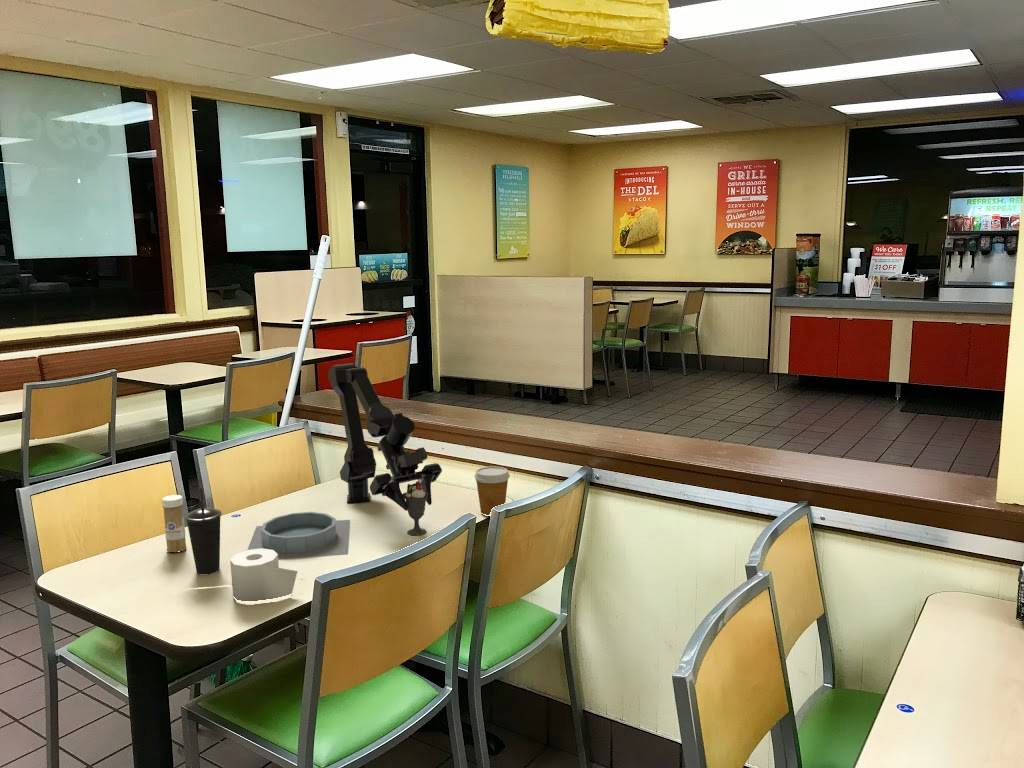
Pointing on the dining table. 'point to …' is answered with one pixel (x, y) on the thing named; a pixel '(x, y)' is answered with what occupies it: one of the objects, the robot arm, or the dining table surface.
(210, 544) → the drinking cup
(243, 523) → the dining table surface
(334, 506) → the dining table surface
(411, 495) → the sundae
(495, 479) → the disposable coffee cup
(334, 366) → the robot arm
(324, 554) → the mat
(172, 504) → the sprinkles bottle
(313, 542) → the bowl
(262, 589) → the toilet tissue
